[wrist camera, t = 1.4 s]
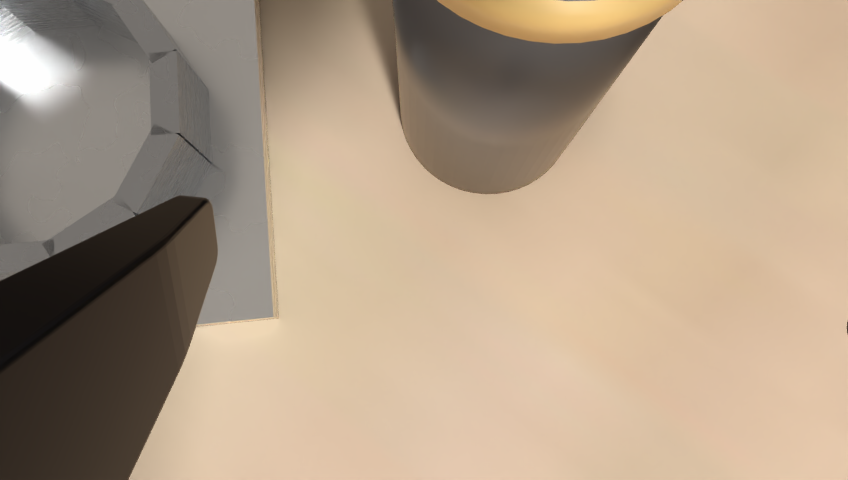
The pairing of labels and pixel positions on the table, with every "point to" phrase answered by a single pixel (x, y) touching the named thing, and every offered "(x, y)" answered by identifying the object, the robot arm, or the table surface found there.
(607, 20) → the grey cylindrical piece
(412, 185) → the table surface
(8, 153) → the duct collar
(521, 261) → the table surface
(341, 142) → the table surface
